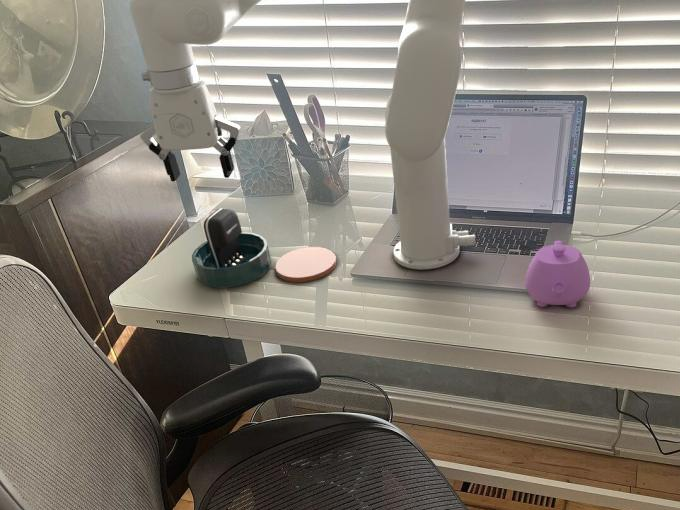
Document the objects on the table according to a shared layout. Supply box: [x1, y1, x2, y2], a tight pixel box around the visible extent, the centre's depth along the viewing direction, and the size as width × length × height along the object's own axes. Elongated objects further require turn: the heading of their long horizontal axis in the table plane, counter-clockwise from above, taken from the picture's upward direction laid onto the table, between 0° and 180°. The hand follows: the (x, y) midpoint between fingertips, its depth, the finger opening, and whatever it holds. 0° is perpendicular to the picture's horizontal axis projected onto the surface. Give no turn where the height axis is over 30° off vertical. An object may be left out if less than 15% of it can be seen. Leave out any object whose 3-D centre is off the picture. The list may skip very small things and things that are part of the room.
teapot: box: [524, 240, 591, 308], centre depth 111 cm, size 10×15×9 cm
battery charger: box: [203, 207, 246, 268], centre depth 129 cm, size 7×4×11 cm, turn 159°
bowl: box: [191, 231, 273, 288], centre depth 131 cm, size 14×14×4 cm
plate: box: [274, 246, 337, 283], centre depth 131 cm, size 12×12×1 cm
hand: (202, 176), depth 122 cm, fingers open, 9 cm apart
